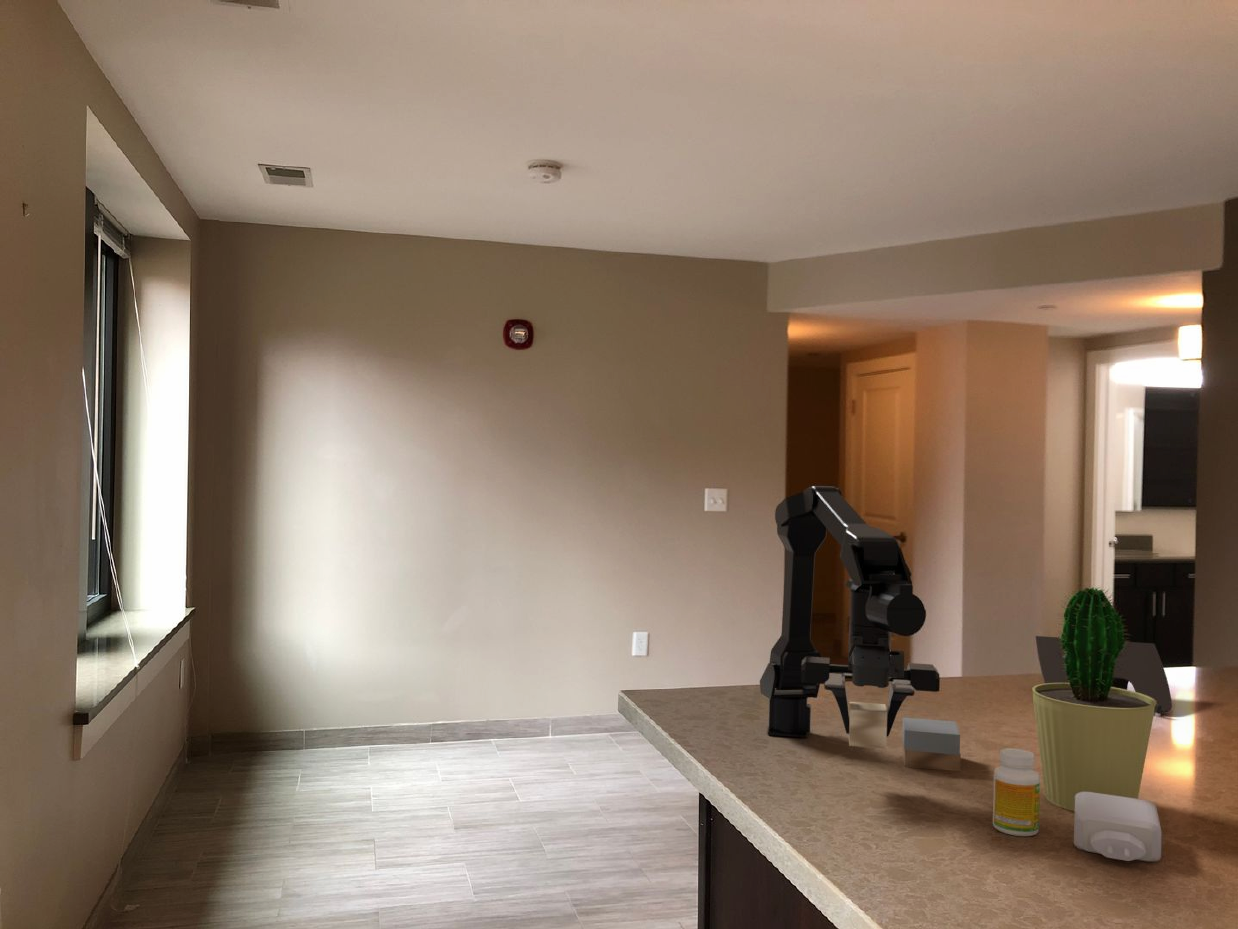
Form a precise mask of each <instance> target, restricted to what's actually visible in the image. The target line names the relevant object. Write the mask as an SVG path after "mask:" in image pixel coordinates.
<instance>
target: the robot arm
mask: <svg viewBox="0 0 1238 929" xmlns="http://www.w3.org/2000/svg"><path fill="white" fill-rule="evenodd" d="M774 520H775V523H776V533H777V536H778V537H779V539H780V542H781V543H782V545H783V547H784V549H785V559H784V560H785V563H784V564H785V565H784V578H783V579H784V580H783V581H784V582H783V596H782V597H783V598H782V600H783V601H782V602H783V603H782V617H781V621H782V622H781V635H780V636H779V638H778V639H777V641H776V642H775V643H774V645H773V647H772V648H771V651H770V654H769V656H770V657H769V662H768V664H767V666H766V668H765V670H764V672H763V674H761V677H760V679H759V689H760V694H761V695H763V696H765V697H766V698H767V699H768V701H769V702H768V706H769V707H768V727H767V731H766V733H767V735H769V736H779V737H793V738H808V733H810V732H811V724H812V722H811V714H812V705H811V704H810V703H808V699H809V698H811V699H812V698H814V699H817V698H818V694H819V690H820V685H821V684H822V685H823V689H824V690H827V691H831V692H832V695H833V696H834V699H835V700H836V702H837V705H838V708H839V712H840V716H841V718H842V723H843V725H844V729H845V732H846V733H845V734H848V735H849V705H848V703H849V702H848V696H847V686H846V679H849V680H851V681H852V684H853V685H854V686H856V687H864V686H869V687H877V688H879V689H880V688H881V689H886V688H888V687H889V685H890V687H889V692H888V694H889V695H888V701H887V706H886V709H887V738H889V737H890V734H891V730H892V728H893V725H894V722H895V719H896V717H897V714H898V711H899V710H900V708H901V706H902V704H903V703H904V701H905V700H906V698H907V697H913V696H915V694H916V693H915V691H917V692H920V691H921V692H932V693H937V692H940V685H941V684H940V682H941V681H940V680H941V679H940V678H941V677H940V673H939V671H938V669H937V667H935V666H934V664H932V663H931V664H929V663H915V662H907V668H905V651H904V650H891V639H892V638H891V636H892V634H895V635H898V636H900V637H910V636H913V635H916V634H917V633H918V632H919V631H921V629H922V628H923V626H924V624H925V622H926V617H927V609H926V608H925V605H924V603H923V601H922V599H920V598H919V597H918V596H917V595H915V594H914V593H913V582H912V578H911V576H912V572H911V570H910V568H909V566H908V563H907V561H906V559H905V557H904V553H903V550H902V548H901V546H900V544H899V542H898V540H897V539H896V538H895V536H893V535H891V534H890V533H889V532H887V531H886V530H884V529H880V528H877V527H874V526H871V525H869V524H868V523H867V522H866V521H865V520H864V519H863V517H861V515H859V513H858V512H857V511H856V510H855V509H854V508H853V507H852V505H850V504H849V502H848V501H847V500H846V499H845V498H844V497H843V496H842V491H841V489H840V488H838V487H835V486H834V485H833V486H829V485H828V486H826V485H812V486H809V487H807V488H805V489H804V490H803V491H801V492H799V493H796V494H793V495H790V496H787V497H785V498H783V500H782V501H780V503H778V504H777V505H776V508H775V511H774ZM827 531H828V532H829V533H830V534H831V535H832V537H833V539H835V541H836V542H837V543H838V544H839V546H840V548H841V549H840V555H839V559H840V561H841V562H842V564H843V567H844V568H845V570H846V572H847V574H848V576H849V579H848V580H846V582H845V585H844V586H845V588H847V589H850V590H849V621H848V623H849V624H848V629H849V630H848V655H847V656H848V657H847V659H848V661H847V664H835V663H834V664H833V663H832V664H830V660H831V659H830V657H823V656H821V653H820V652H819V651H817V649H816V647H815V645H814V643H813V642H812V640H811V635H812V619H813V618H812V614H813V600H814V599H813V598H814V584H815V583H814V580H815V564H816V563H815V561H816V553H817V551H818V550H819V549H820V547H821V545H822V544H823V542H824V541H825V540H826V538H827V534H828V532H827Z"/></svg>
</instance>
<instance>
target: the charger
mask: <svg viewBox="0 0 1238 929" xmlns="http://www.w3.org/2000/svg"><path fill="white" fill-rule="evenodd" d="M1158 813H1159V812H1158V808H1157V806H1156V805H1155V804H1154V803H1153V802H1150V801H1148V800H1145V799H1139V798H1138V799H1135V798H1128V797H1121V796H1114V795H1107V794H1100V793H1093V792H1080V793H1077V794H1076V795H1075V811H1074V818H1073V819H1074V822H1073V824H1074V827H1073V830H1074V831H1073V844H1074V846H1075V847H1076V848H1077V849H1078V850H1080V851H1083V852H1088V853H1093V854H1100V855H1103V857H1105V858H1108V859H1114V860H1122V861H1126V862H1130V861H1134V860H1135V861H1139V862H1147V863H1149V862H1150V863H1153V862H1154V863H1155V862H1158V861H1160V860H1161V858H1162V829H1161V822H1160V818H1159V814H1158Z"/></svg>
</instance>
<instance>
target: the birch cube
mask: <svg viewBox="0 0 1238 929" xmlns="http://www.w3.org/2000/svg"><path fill="white" fill-rule="evenodd" d="M848 703H849V705H848V712H849V734H848V745H849V746H850V747H860V748H861V747H863V748H875V749H887V738H888V737H887V706H886V704H885V703H874V702H873V703H872V702H871V703H870V702H861V701H860V702H859V701H849V702H848Z"/></svg>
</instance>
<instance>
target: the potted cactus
mask: <svg viewBox="0 0 1238 929" xmlns="http://www.w3.org/2000/svg"><path fill="white" fill-rule="evenodd" d="M1077 587H1078V588H1077V590H1076V591H1075V592H1074V591H1072V593H1071V592H1070V594H1071V595H1072V596H1070V594H1067V595H1068V596H1069V598H1068V596H1066V595H1064V599H1065V600H1066V601H1062V599H1061V600H1060V601H1061V602H1063V604H1062V605H1061V604H1060V605H1061V606H1060V607H1061V608H1063V609H1064V611H1062V610H1061V612H1060V613H1057V614H1059V617H1061V618H1063V623H1060V625H1062V627H1061V628H1062V631H1061V633H1060V634H1059V633H1058V635H1060V636H1054V637H1055V638H1058V637H1060V638H1061V642H1060V641H1059V642H1060V643H1061V644H1062V648H1063V650H1064V652H1065V653H1066V655H1065V654H1063V655H1064V656H1065V660H1064V661H1061V662H1064V663H1065V666H1063V667H1065V668H1066V670H1060V671H1066V674H1067V679H1068V680H1065V681H1066V682H1067V681H1069V682H1070V683H1046V684H1045V683H1041V684H1037V685H1034V686H1032V688H1031V689H1032V702H1033V709H1034V710H1033V711H1034V715H1035V716H1034V717H1035V725H1036V731H1037V732H1036V733H1037V742H1038V750H1039V756H1040V758H1039V759H1040V765H1041V772H1042V783H1043V791H1044V794H1045V798H1046V800H1047V801H1049V803H1051V804H1053V805H1054V806H1057V807H1058V808H1062V809H1065V810H1069V811H1071V812H1075V795H1076V794H1077V793H1080V792H1093V793H1100V794H1107V795H1114V796H1121V797H1128V798H1135V799H1139V795H1140V789H1141V784H1142V778H1143V773H1144V768H1145V762H1146V758H1147V752H1148V746H1149V742H1150V737H1151V731H1152V727H1153V726H1152V725H1153V720H1154V716H1155V714H1154V708H1155V705H1156V704H1157V703H1156V700H1154V699H1153V698H1151V697H1149V696H1147V695H1144V694H1141V693H1137V692H1135V690H1129V689H1127V690H1125V689H1120V688H1117V687H1116V688H1115V687H1113V686H1112V687H1111V684H1113V683H1112V681H1113V675H1114V676H1117V675H1116V674H1115V673H1114V669H1115V667H1117V666H1115V660H1116V658H1117V657H1118V656H1119V653H1120V651H1121V650H1122V649H1124V648H1125V647H1124V646H1125V645H1124V642H1129V640H1128V639H1131V638H1132V637H1133V635H1132V634H1129V636H1132V637H1125V636H1127V633H1124V632H1129V631H1130V630H1127V629H1125V627H1127V625H1126V624H1125V625H1124V623H1122V621H1123V619H1122V617H1123V616H1124V615H1125V613H1124V614H1122V615H1119V611H1117V606H1116V604H1115V603H1117V601H1115V600H1116V599H1113V598H1112V599H1111V597H1113V596H1114V594H1113V593H1111V594H1110V595H1109V592H1110V591H1111V589H1110V588H1108V589H1107V590H1105V589H1102V587H1100V589H1099V588H1098V587H1097V586H1096V587H1095V588H1094V586H1092V587H1090V588H1089V587H1084V588H1083V587H1082V584H1081V583H1080V588H1081V590H1080V588H1079V586H1077ZM1108 591H1109V592H1108ZM1108 595H1109V596H1108ZM1065 597H1066V598H1067V599H1066V598H1065ZM1061 613H1063V614H1061ZM1126 620H1128V619H1125V621H1126ZM1057 631H1058V632H1059V630H1057ZM1054 634H1056V633H1054ZM1060 643H1059V644H1060ZM1057 644H1058V642H1057ZM1125 644H1126V643H1125ZM1129 647H1130V646H1129ZM1124 650H1125V649H1124ZM1061 651H1062V650H1061ZM1126 651H1127V650H1126ZM1121 652H1122V651H1121ZM1124 652H1125V651H1124ZM1061 653H1062V652H1061ZM1059 656H1060V655H1059ZM1061 656H1062V655H1061ZM1064 656H1062V657H1064ZM1120 656H1121V655H1120ZM1120 656H1119V657H1120ZM1120 658H1121V657H1120ZM1117 660H1118V659H1117ZM1117 660H1116V661H1117ZM1123 660H1124V659H1123ZM1119 661H1121V660H1119ZM1118 663H1120V662H1118ZM1116 665H1118V664H1116ZM1121 665H1123V664H1121ZM1058 668H1059V667H1058ZM1118 668H1120V667H1117V669H1118ZM1062 669H1063V668H1062ZM1117 669H1116V670H1117ZM1116 670H1115V671H1116ZM1118 672H1120V671H1118ZM1063 674H1064V673H1063ZM1061 675H1062V674H1061ZM1064 675H1065V674H1064ZM1118 678H1119V676H1118ZM1064 679H1065V678H1064ZM1116 681H1117V680H1116ZM1113 685H1114V684H1113Z"/></svg>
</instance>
